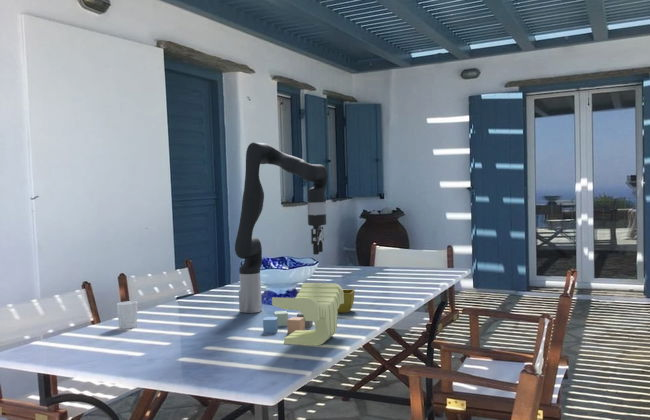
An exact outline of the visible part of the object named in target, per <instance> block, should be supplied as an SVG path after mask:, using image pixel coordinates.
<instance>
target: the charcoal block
mask: <svg viewBox="0 0 650 420" xmlns="http://www.w3.org/2000/svg"><path fill="white" fill-rule="evenodd" d="M296 317H304V315H303V314H302V313H301V312H300V311H298V313H297V314H296ZM304 319H305V318H304ZM313 325H314V321H305V328H311V326H313Z"/></svg>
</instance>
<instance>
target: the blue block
mask: <svg viewBox="0 0 650 420" xmlns="http://www.w3.org/2000/svg"><path fill="white" fill-rule="evenodd" d="M262 326H263V327H262V331H263V334H273V333H274V334H276V333H278V331H279V326H278V317H274V316H264V317H263V319H262Z"/></svg>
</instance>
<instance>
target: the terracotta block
mask: <svg viewBox="0 0 650 420" xmlns="http://www.w3.org/2000/svg"><path fill="white" fill-rule="evenodd" d="M286 327H287V334H291V333H293V332H294V331H296V330H306V327H305V319H304V317H297V316H292V317H290V318H289V317H288V320H287V326H286Z"/></svg>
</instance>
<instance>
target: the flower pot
mask: <svg viewBox="0 0 650 420" xmlns="http://www.w3.org/2000/svg"><path fill="white" fill-rule="evenodd" d="M342 289H343V293H344V304H343V303H342V304H340V306H339V308H338V309H337V313H338V314H339V313H341V314H342V313H344V314H346V313H350V312H351V310H352V309H353V305H354V302H355V289H344V288H342Z"/></svg>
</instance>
